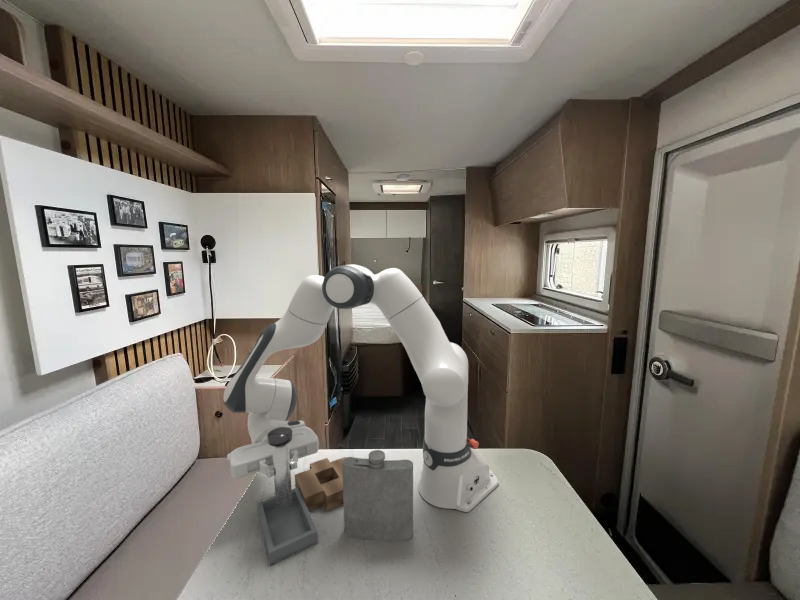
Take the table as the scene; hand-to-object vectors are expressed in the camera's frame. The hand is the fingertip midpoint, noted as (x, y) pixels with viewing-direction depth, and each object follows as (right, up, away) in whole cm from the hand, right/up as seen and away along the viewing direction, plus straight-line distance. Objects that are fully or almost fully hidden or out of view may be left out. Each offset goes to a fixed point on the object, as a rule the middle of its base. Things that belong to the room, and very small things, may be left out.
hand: (282, 470), depth 73 cm
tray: (0, -15, +3) cm, 15 cm away
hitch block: (+7, -13, +15) cm, 21 cm away
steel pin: (0, -9, +2) cm, 9 cm away
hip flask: (+21, -15, +1) cm, 26 cm away
